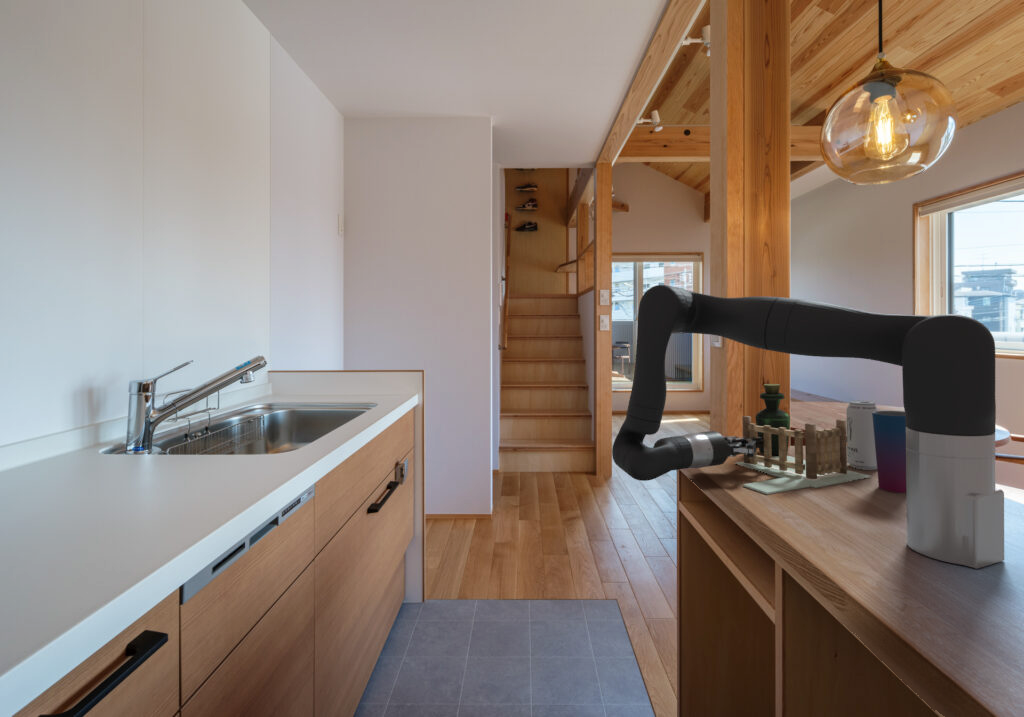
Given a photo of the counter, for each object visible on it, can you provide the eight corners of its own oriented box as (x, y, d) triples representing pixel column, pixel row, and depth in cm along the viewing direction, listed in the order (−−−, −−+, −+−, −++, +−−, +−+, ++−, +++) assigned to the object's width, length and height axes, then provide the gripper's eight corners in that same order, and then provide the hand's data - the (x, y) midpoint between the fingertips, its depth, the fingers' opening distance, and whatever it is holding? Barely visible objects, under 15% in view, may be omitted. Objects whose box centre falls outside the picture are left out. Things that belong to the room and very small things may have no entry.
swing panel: (806, 473, 104) (805, 423, 103) (801, 475, 103) (800, 424, 103) (746, 461, 116) (745, 415, 115) (741, 462, 115) (740, 416, 115)
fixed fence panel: (849, 475, 104) (848, 420, 104) (812, 482, 101) (811, 425, 100) (840, 473, 106) (839, 419, 106) (803, 479, 103) (802, 423, 102)
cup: (925, 494, 91) (925, 415, 90) (884, 494, 92) (883, 415, 91) (904, 484, 97) (903, 410, 97) (866, 483, 99) (865, 410, 98)
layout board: (870, 477, 102) (870, 475, 102) (771, 496, 93) (771, 493, 93) (785, 456, 122) (785, 454, 122) (696, 470, 113) (696, 468, 113)
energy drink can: (843, 463, 114) (842, 400, 113) (874, 464, 112) (873, 400, 111) (852, 470, 108) (851, 403, 108) (884, 471, 106) (883, 403, 106)
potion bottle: (749, 450, 130) (747, 384, 129) (777, 448, 131) (776, 382, 130) (768, 457, 122) (766, 386, 121) (798, 455, 122) (797, 385, 122)
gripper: (721, 438, 100) (785, 430, 105) (679, 428, 112) (739, 421, 118) (722, 474, 100) (786, 464, 105) (680, 460, 112) (739, 452, 118)
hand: (761, 441), depth 111 cm, fingers closed
